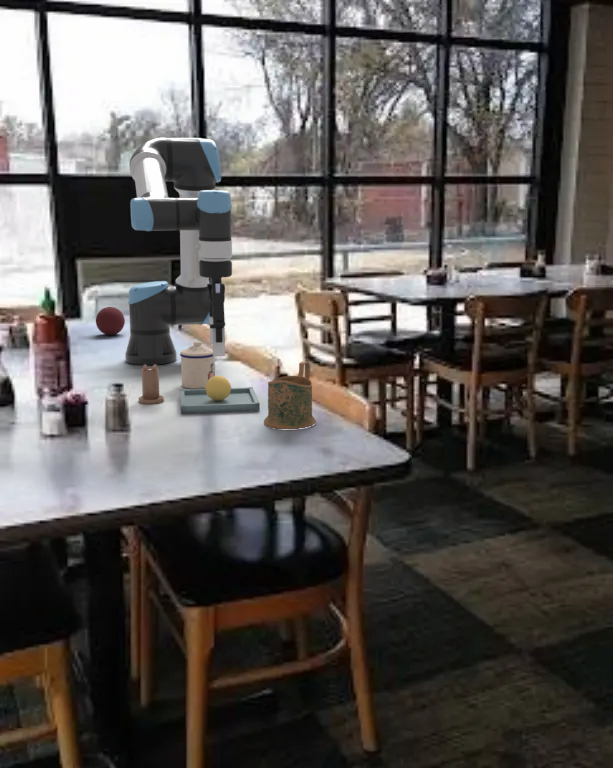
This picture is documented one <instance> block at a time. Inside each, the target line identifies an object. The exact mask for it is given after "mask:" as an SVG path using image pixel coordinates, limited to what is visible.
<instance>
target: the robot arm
mask: <svg viewBox="0 0 613 768" xmlns="http://www.w3.org/2000/svg"><path fill="white" fill-rule="evenodd" d="M220 161H221V160H220V154H219V151H218V148H217V144H216V143H215V141H214V140H212V139H209V138H201V137H156V138H153V139H150V140H148V141H145V142H144V143H142V144H141V145H140V146H138V147H137V148H136V149H135V151H134V152H133V153H132V155H131V157H130V159H129V172H130V176H131V177H132V179H133V181H134V183H135V191H136V192H135V193H136V197H134V198H131V200H130V221H131V222H130V223H131V228H132V229H134V231H145V232H152V231H154V232H155V231H156V232H157V231H158V232H160V231H161V232H162V231H163V232H165V231H179V234H180V235H179V238H180V239H179V241H180V243H179V244H180V249H179V250H180V253H179V254H180V275H179V276H177V278H176V279H175V285H169V282H168V281H166V280H161V281H160V280H159V281H158V280H156V281H148V282H144V283H140V284H139V283H138V284H136V285H132V286H131V287H130V289H129V291H128V302H127V304H128V306H129V307H128V308H129V330H130V331H129V332H130V335H129V340H128V343H127V347H126V350H125V355H124V356H125V362H126V363H128V364H130V365H137V366H138V365H140V366H143V365H147V366H153V365H154V364H156V365H157V366H158V365H164V364H170V363H173V362H176V361H177V360H178V359H177V358H178V357H177V350H176V347H175V345H174V342H173V339H172V335H171V334H170V333H171V332H170V329H171V328H170V327H171V326H182V325H183V326H184V325H190V326H191V325H199V326H200V325H206V324H207V325H208V324H209V344H210V345H212V350H213V356H214V357H226V339H225V338H226V334H225V329H226V328H225V327H226V322H225V321H226V319H225V318H226V317H225V299H226V297H225V296H226V295H225V293H226V284H225V283H222V281H223V280H222V278H230V277H232V275H233V261H232V260H231V258H233V241H232V208H233V205H232V201H231V196H232V195H231V193H230V192H229V191H228V190H220V189H219V190H218V189H217V190H216V183H219V182H221V180H222V170H221V169H222V168H221V162H220ZM166 182H173V189H175V191H176V192H178V194H179V197H169V194H168V193H169V192H168V189H167V184H166Z"/></svg>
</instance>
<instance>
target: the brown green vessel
mask: <svg viewBox="0 0 613 768" xmlns="http://www.w3.org/2000/svg"><path fill="white" fill-rule="evenodd" d="M310 377H311V365H310V362H309V361H300V362H299V364H298V375H285V376H281V377H277V378H274V379H272V380H271V381H268V382H267V386H268V387H267V408H268V409H267V412H268V413H267V416H266V417H265V418H264V419H263V424H264V426H265V427H267V428H269V427H270V429H272V428H275V429H274V430H277V429H299V428H305V427H309V426H312V425H313V424H315V423H316V424H317V419H316V418H315V417H314V416H313V382H312V380H310Z"/></svg>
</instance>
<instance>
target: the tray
mask: <svg viewBox="0 0 613 768" xmlns="http://www.w3.org/2000/svg"><path fill="white" fill-rule="evenodd" d="M179 392H180V393H179V394H180V396H179V397H180V413H181V415H192V414H193V415H194V414H195V415H197V414H216V413H221V414H222V413H241V412H242V413H243V412H260V411H261V410H260V409H261V408H260V407H261V406H260V405H261V403H260V402H259V401H260V400H259V398H258V396H257V395H256V392H255V390H254V387H253V386H250V387H249V386H247V387H231V391H230V394H229V396H228V397H227V398H226V399H224V400H221V401H215V400H213V399H211V398H210V397H209V396H208V395H207V393H206V388H205V389H179Z"/></svg>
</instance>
